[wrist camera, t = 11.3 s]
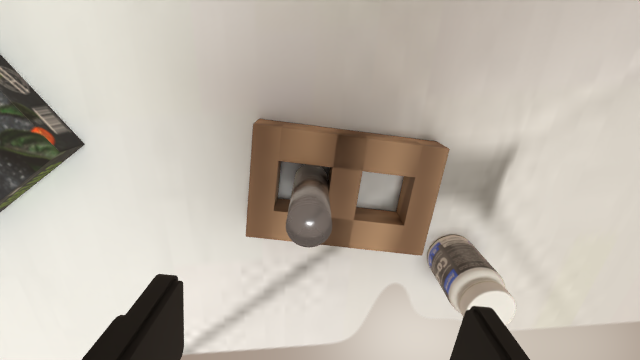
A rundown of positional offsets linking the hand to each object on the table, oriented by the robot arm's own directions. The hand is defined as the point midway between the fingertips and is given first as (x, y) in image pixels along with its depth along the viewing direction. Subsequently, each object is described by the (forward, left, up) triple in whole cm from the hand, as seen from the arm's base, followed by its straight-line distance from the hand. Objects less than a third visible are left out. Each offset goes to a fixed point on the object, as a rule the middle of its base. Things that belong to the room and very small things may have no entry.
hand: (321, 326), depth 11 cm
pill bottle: (-15, +8, -21) cm, 27 cm away
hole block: (-2, +2, -21) cm, 21 cm away
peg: (0, +2, -21) cm, 21 cm away
